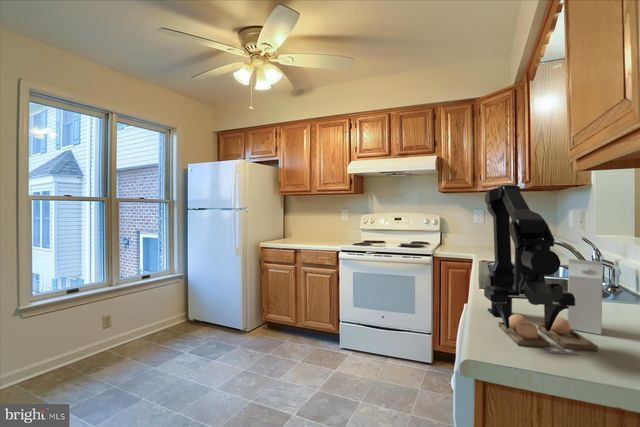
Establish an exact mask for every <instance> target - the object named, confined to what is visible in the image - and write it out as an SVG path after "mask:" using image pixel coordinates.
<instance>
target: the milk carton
mask: <svg viewBox="0 0 640 427" xmlns="http://www.w3.org/2000/svg"><path fill="white" fill-rule="evenodd" d="M567 292H570V293H572V294H573V295H574V297H575V306H569V308H568V309H567V319H566V320H567V321H568V322H569V324H570V329H571V330H573V331H574V330H575V331H579V332H584V333H585V332H586V333H589V334H595V335H602V333H603V332H602V330H603V329H602V328H603V326H602V325H603V321H602V320H603V261H599V260H586V259H577V258H576V259H574V258H573V259H572V258H568V269H567Z"/></svg>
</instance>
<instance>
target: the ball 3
mask: <svg viewBox="0 0 640 427" xmlns="http://www.w3.org/2000/svg"><path fill="white" fill-rule="evenodd" d="M567 320H568V319H566V318H565V317H563V316H557V317H556V319H555V321H554V323H553V325H552V327H551V330H552V331H554V332H555V333H557V334H566V333H567V332H568V331H569V330H570V324H569V322H568V321H567Z"/></svg>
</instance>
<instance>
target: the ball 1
mask: <svg viewBox="0 0 640 427" xmlns="http://www.w3.org/2000/svg"><path fill="white" fill-rule="evenodd" d="M523 321H527V319H526V317H524V316H523V315H521V314H520V313H518V314H517V313H514V315H511V316H510V317H509V326H510V327H511V328H512V329H513V330H515V331H517V326H518V324H519V323H520V322H523Z"/></svg>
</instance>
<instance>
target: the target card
mask: <svg viewBox="0 0 640 427" xmlns="http://www.w3.org/2000/svg"><path fill="white" fill-rule="evenodd" d="M543 349H544V350H546V351H547V352H548V353H549V354H561V355H562V354H563V355H573V356H579V355H580V353H579V352H577V350H573V349H564V348H563V347H561V348H560V347H551V346H550V347H544V348H543Z"/></svg>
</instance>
